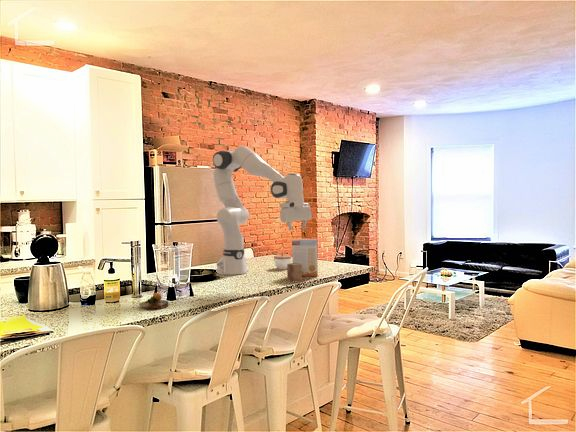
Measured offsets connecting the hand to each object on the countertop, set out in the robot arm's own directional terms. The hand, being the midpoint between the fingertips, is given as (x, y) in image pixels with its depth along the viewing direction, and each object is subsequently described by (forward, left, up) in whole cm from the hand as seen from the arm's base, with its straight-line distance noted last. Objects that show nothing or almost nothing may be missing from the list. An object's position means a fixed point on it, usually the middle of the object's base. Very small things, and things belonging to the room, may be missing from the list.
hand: (297, 229), depth 251 cm
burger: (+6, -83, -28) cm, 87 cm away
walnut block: (0, -3, -27) cm, 27 cm away
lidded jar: (-36, +16, -28) cm, 48 cm away
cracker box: (-8, +11, -28) cm, 31 cm away
